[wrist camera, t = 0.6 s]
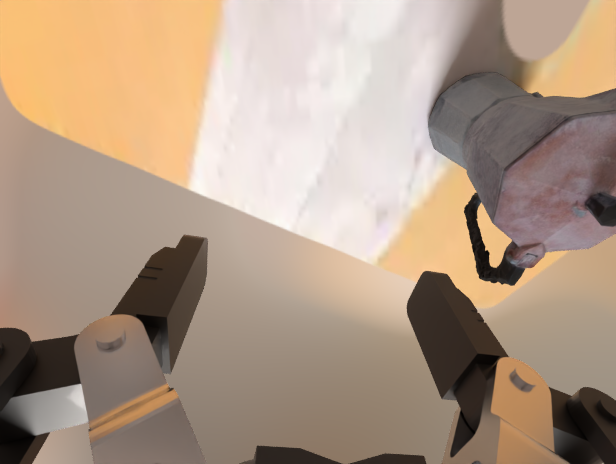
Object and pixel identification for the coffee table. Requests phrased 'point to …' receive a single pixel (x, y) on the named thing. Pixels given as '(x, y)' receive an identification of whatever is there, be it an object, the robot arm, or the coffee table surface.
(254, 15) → the coffee table surface
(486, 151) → the moka pot
